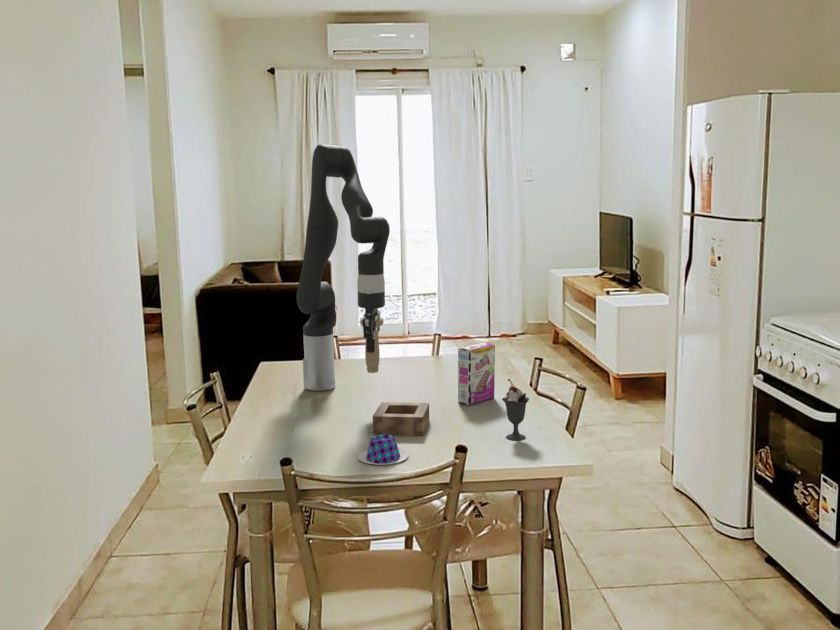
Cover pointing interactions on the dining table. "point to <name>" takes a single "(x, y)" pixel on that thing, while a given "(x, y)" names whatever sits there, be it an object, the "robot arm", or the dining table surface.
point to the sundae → (515, 410)
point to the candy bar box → (476, 373)
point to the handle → (373, 358)
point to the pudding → (382, 451)
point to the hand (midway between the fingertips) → (372, 350)
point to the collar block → (401, 419)
